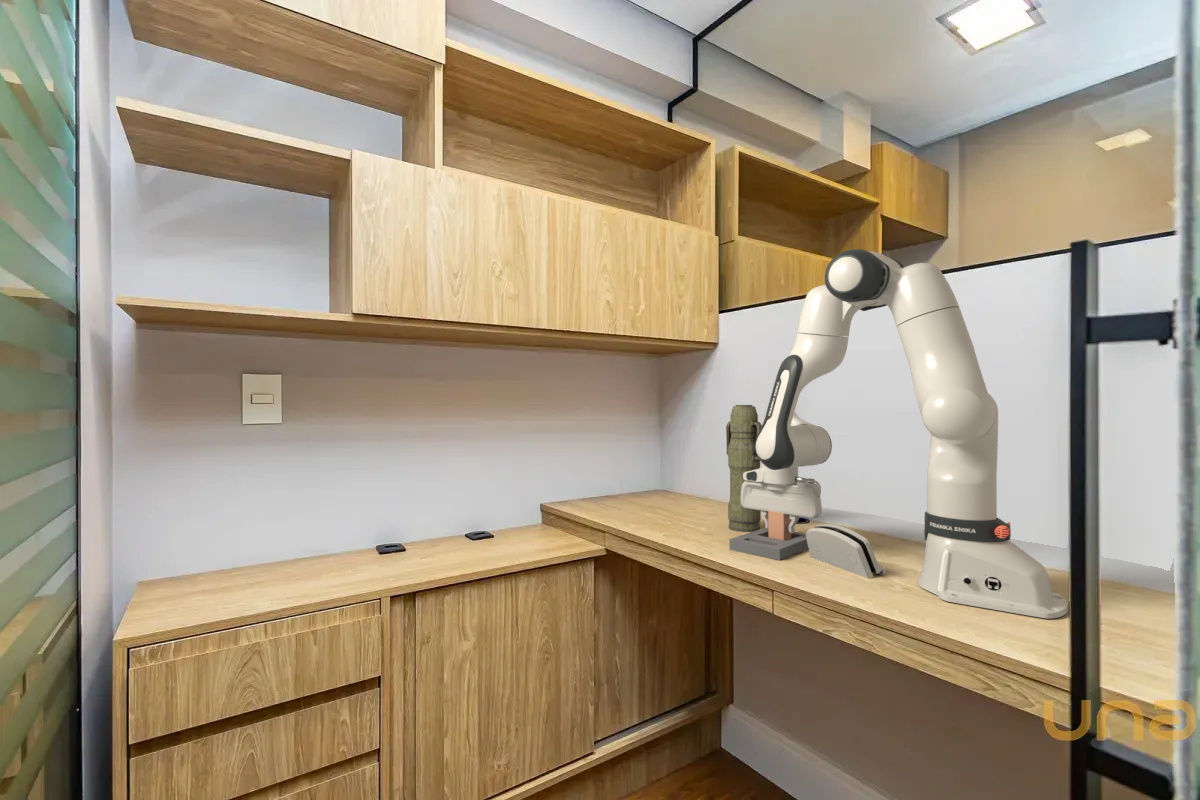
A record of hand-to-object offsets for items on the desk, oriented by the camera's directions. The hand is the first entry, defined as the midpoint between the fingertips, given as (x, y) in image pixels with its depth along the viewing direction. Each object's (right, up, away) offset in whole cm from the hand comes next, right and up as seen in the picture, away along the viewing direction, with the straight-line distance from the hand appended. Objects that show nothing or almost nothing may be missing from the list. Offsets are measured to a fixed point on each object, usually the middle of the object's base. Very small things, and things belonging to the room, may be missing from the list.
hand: (779, 530), depth 136 cm
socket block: (-2, -4, -2) cm, 5 cm away
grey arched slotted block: (+7, -4, -18) cm, 20 cm away
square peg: (0, -3, 0) cm, 3 cm away
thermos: (-4, -4, +19) cm, 19 cm away
